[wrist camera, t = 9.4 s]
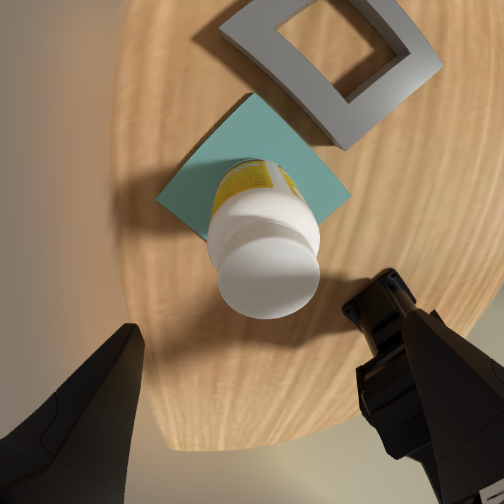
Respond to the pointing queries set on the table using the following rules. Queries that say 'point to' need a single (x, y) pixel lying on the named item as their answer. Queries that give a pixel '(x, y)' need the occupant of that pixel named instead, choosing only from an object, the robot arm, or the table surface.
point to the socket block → (315, 84)
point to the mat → (249, 147)
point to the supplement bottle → (263, 241)
